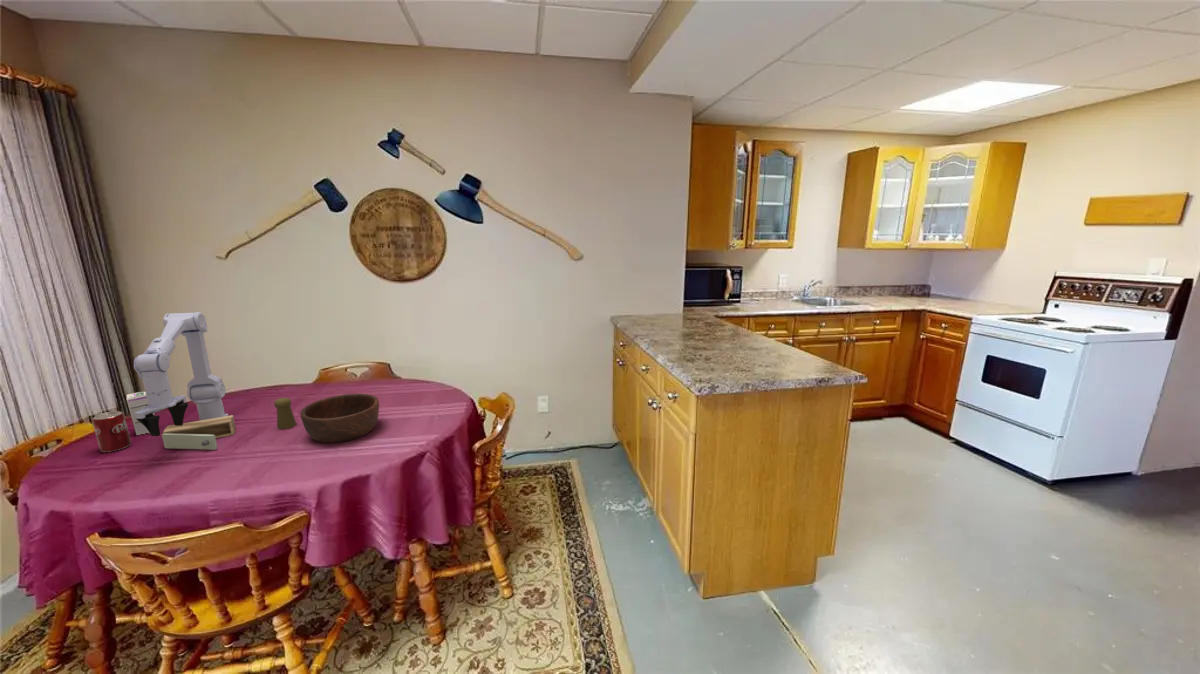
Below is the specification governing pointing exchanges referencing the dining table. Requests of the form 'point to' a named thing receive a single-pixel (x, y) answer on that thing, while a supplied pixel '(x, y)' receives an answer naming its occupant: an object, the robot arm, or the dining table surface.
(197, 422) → the cabinet
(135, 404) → the syrup box
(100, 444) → the soda can
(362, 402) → the wooden bowl
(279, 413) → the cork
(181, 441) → the cabinet door
